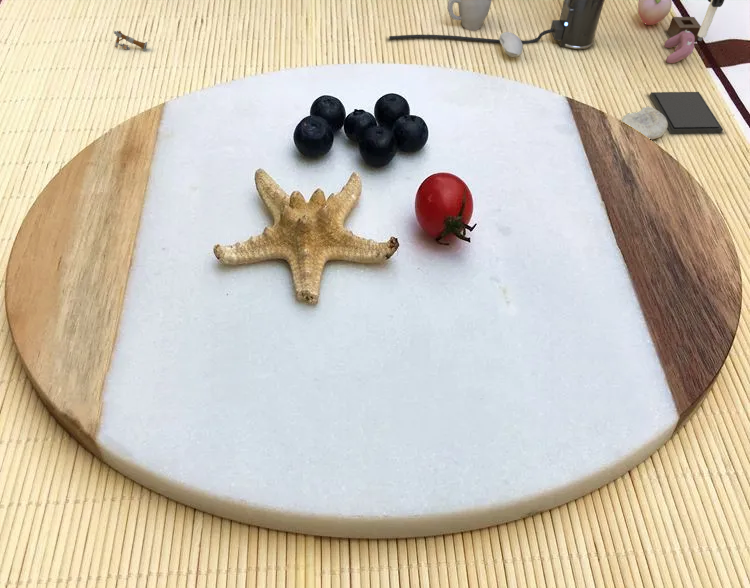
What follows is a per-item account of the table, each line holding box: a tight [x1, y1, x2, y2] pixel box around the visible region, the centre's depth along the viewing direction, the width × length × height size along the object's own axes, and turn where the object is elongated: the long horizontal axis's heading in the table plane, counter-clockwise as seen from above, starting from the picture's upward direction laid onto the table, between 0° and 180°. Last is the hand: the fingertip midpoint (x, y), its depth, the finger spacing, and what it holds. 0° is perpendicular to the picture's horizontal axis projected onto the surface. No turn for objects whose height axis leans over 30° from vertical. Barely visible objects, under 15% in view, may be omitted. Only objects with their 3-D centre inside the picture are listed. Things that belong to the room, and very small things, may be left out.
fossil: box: [620, 105, 668, 141], centre depth 154 cm, size 11×4×10 cm
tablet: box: [649, 91, 724, 135], centre depth 159 cm, size 12×16×1 cm
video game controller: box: [663, 30, 696, 64], centre depth 174 cm, size 10×5×7 cm, turn 168°
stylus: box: [697, 0, 718, 42], centre depth 149 cm, size 2×2×13 cm
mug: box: [446, 0, 492, 31], centre depth 180 cm, size 12×9×10 cm
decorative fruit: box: [637, 0, 673, 26], centre depth 182 cm, size 9×8×10 cm
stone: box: [498, 31, 524, 58], centre depth 172 cm, size 10×5×5 cm, turn 15°
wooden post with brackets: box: [113, 30, 148, 52], centre depth 171 cm, size 2×8×4 cm, turn 88°
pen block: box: [666, 16, 701, 44], centre depth 181 cm, size 6×6×4 cm
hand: (714, 3), depth 147 cm, fingers closed on stylus, 2 cm apart
